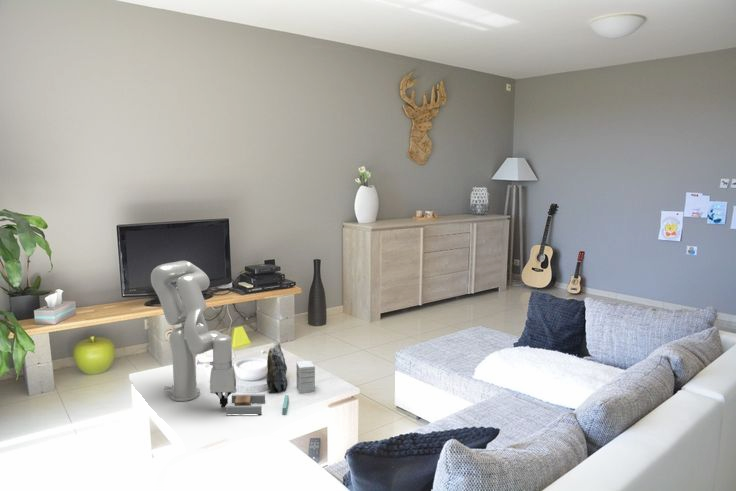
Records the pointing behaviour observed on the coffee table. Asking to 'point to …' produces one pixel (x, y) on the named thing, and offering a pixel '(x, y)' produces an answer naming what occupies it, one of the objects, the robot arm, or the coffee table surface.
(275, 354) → the stone block
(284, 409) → the bar
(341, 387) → the coffee table surface
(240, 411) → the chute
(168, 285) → the robot arm
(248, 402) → the walnut block
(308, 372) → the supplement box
